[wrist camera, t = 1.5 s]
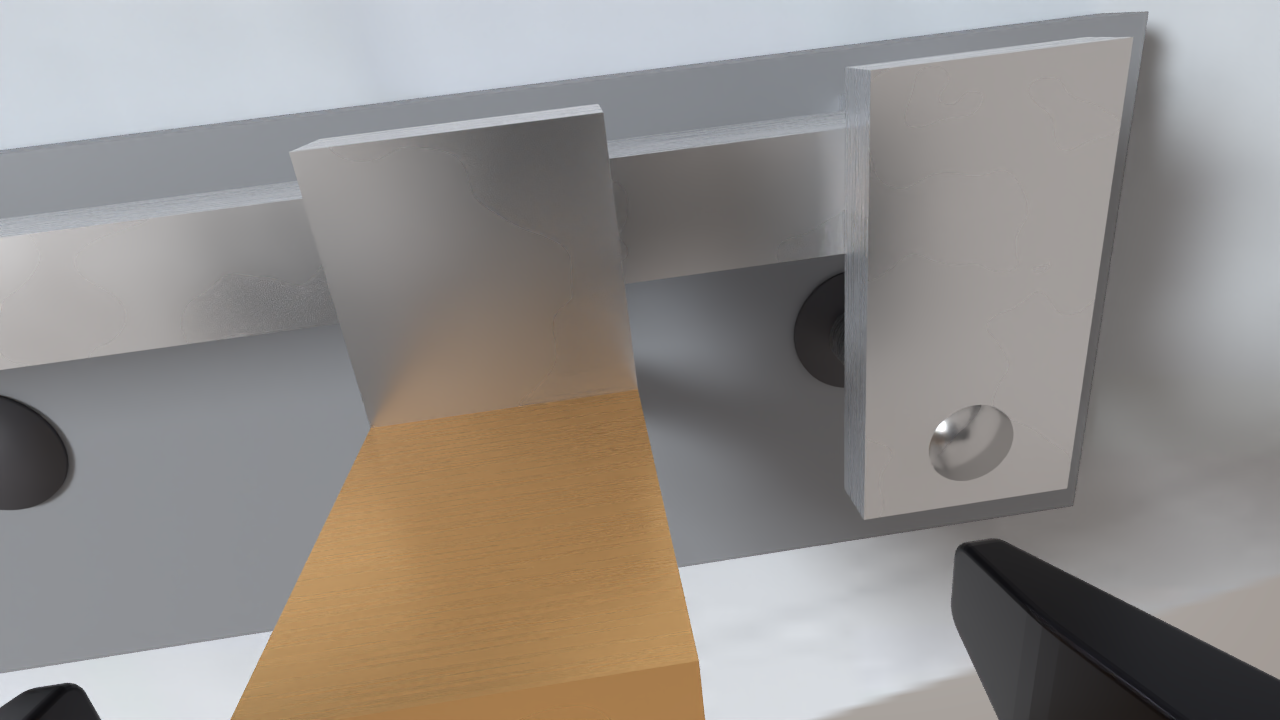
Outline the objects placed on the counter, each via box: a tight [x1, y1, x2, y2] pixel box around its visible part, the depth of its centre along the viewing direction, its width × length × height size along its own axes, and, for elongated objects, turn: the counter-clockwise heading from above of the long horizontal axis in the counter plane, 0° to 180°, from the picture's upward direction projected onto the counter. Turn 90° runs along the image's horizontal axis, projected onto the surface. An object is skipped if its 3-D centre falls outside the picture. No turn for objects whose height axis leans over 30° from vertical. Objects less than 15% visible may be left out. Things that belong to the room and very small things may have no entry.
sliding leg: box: [231, 104, 705, 720], centre depth 9 cm, size 3×7×9 cm, turn 6°
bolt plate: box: [0, 12, 1148, 673], centre depth 14 cm, size 26×10×1 cm, turn 96°
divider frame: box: [0, 37, 1133, 520], centre depth 11 cm, size 22×6×4 cm, turn 96°
